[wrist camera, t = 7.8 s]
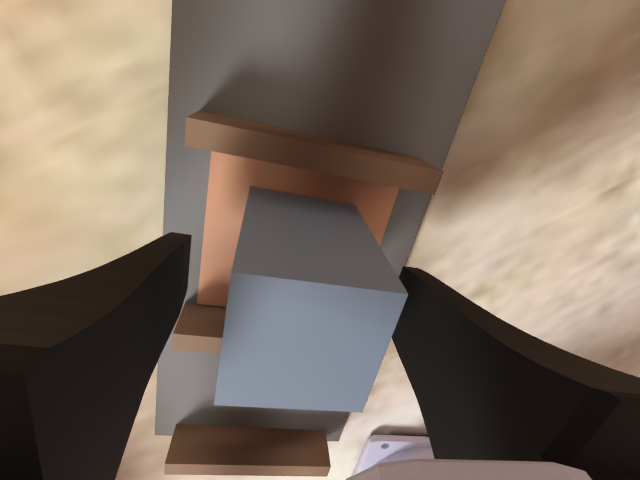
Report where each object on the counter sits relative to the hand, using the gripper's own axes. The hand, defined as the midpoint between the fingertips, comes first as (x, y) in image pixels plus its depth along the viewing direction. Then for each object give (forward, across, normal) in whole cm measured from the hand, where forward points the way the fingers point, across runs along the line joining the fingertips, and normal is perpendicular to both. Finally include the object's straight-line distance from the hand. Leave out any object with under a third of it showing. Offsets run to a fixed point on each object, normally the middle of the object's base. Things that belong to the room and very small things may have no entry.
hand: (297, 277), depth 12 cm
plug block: (+2, 0, 0) cm, 2 cm away
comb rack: (+3, 0, 0) cm, 3 cm away
